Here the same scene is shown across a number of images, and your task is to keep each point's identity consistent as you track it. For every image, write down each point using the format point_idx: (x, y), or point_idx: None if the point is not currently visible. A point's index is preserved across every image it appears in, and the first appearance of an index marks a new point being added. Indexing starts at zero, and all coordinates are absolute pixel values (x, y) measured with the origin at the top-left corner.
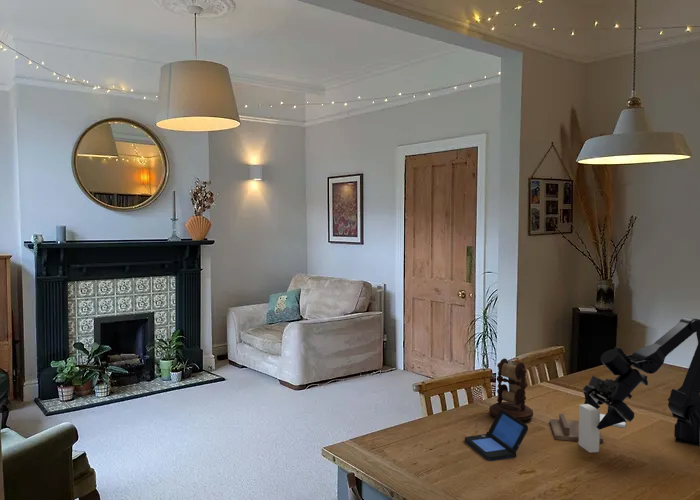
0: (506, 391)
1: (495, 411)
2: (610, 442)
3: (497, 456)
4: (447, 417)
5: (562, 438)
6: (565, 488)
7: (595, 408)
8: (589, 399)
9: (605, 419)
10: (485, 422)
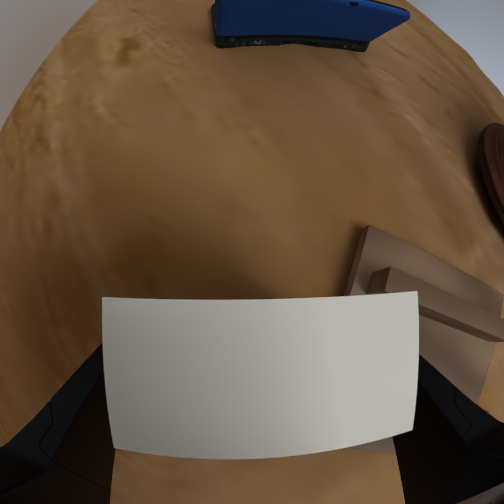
0: None
1: (500, 126)
2: (292, 461)
3: (212, 12)
4: (463, 61)
5: (356, 257)
6: (27, 108)
7: (213, 448)
8: (478, 464)
9: (50, 403)
10: (463, 104)
